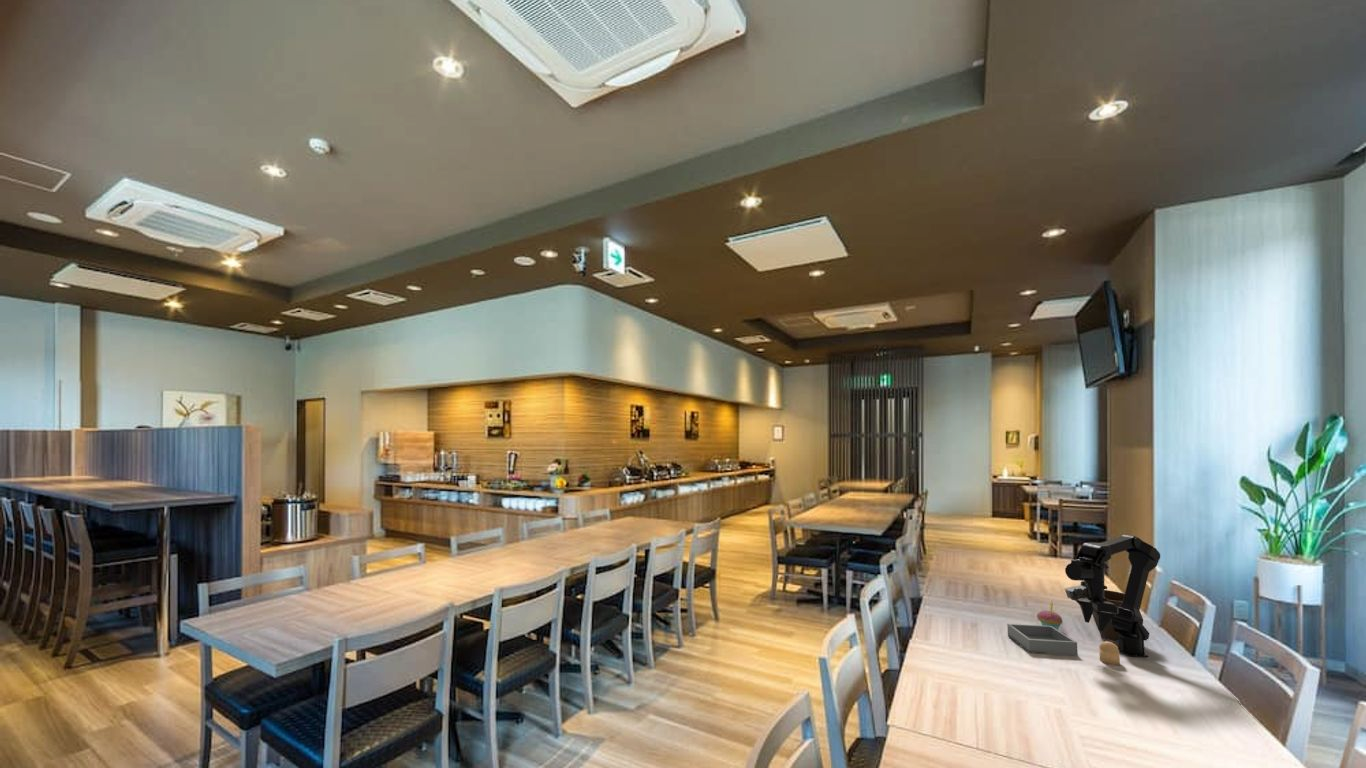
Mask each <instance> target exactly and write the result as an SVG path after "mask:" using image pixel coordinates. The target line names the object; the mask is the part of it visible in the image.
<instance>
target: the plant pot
mask: <svg viewBox="0 0 1366 768" xmlns="http://www.w3.org/2000/svg"><path fill="white" fill-rule="evenodd" d="M1124 595H1125V592H1118V591H1113V590H1109V589H1104V597H1105V598H1107V602H1111V603H1113V604H1115V605H1116V606H1117V607H1119V606H1120V605H1121V604H1122V602H1123V599H1124ZM1092 618H1093V621H1094V624H1095V625H1096V628H1097V630H1098V631H1099V632H1098V633H1099V634H1100V636H1101V637H1103V638H1104V639H1107V640H1111V641H1115V642H1118V638H1119V633H1118V632H1114V629H1113V626H1112V622H1111V620H1110V621H1109V623H1108V624H1107V626H1106V627H1105V629H1104V630H1103V631H1100V630H1099V628H1098V622H1097V614H1096V613H1095V612H1094V611H1093V613H1092Z"/></svg>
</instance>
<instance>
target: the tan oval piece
mask: <svg viewBox="0 0 1366 768" xmlns="http://www.w3.org/2000/svg"><path fill="white" fill-rule="evenodd" d="M1098 647H1099V650H1098V651H1099V661H1100V662H1102V663H1104V664H1105V665H1111V666H1120V665H1121V661H1120V659H1121V658H1120V657H1121V656H1120V651H1119V649H1118V645H1116V644H1115V643H1113V642H1111V641H1106V640H1105V641H1103V642H1101V643H1100V644H1099V646H1098Z"/></svg>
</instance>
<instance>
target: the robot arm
mask: <svg viewBox="0 0 1366 768" xmlns="http://www.w3.org/2000/svg"><path fill="white" fill-rule="evenodd" d="M1122 552H1126V553H1127V555H1128V557H1127V558H1128V561H1129V563H1130V565H1131V568H1130V571H1129V576H1128V580H1127V583H1126V587H1125V590H1124V591H1125V592H1124V594H1125V595H1124V599H1123V602H1122V604H1121V605H1120V606H1119V607H1117V606H1116V605H1115V604H1113V603H1111V602H1107V598H1105V597H1104V590H1108V586H1107V585H1105V579H1106V577H1105V573H1106V572H1105V569H1106V570H1107V569H1109V566H1108V565H1107V564H1106V562H1108V561H1109V560H1111V559H1112V556H1113V555H1116V554H1119V553H1122ZM1160 559H1161V553H1160V551H1158V549H1157V548H1156V547H1154V546H1153V545H1152V544H1149V543H1147V542H1146V541H1143V540H1142V539H1141V538H1140V537H1138V536H1135V535H1129V534H1122V535H1120V536H1118V537H1115V538H1111V539H1109V540H1105V541H1102V542H1084V543H1083V544H1082V545H1081V547H1080V548H1079V550H1078V552H1077V554H1076V555H1075V557H1074V559H1071V561H1070V563H1068V564H1067V565H1066V567H1065V568H1064V570H1065V571H1064V572H1065V575H1066V577H1068V579H1070V580H1071V581H1076V582H1077V581H1080V585H1074V586H1068V587H1065V588H1064V590H1065V594H1066V596H1067V599H1070V600H1072V601H1075V602H1076V604H1078V605H1079V607H1080V610H1081V613H1082V616H1083V619H1084V620H1083V621H1084V623H1086V624H1087V623H1090V621H1091V620H1092V617H1093V615H1092V613H1093V611H1094V612H1095V613H1096V614H1097V622H1098V628H1099V630H1100V631H1103V630H1104V629H1105V627H1106V626H1107V624H1108V623H1109V621H1110V620H1111V622H1112V626H1113V629H1114V632H1118V633H1119V638H1118V641H1117V644H1118V645H1117V647H1118V649H1119V652H1121V653H1123V654H1124V655H1126V656H1129V657H1142V658H1148V657H1149V655H1148V654H1146V653H1145V641H1148V640H1149V638H1150V631H1148V629H1147V628H1146V627H1145V626H1144V625H1143V624H1144V618H1143V616H1142V613H1141V611H1140V609H1141V604H1142V601H1143V598H1144V593H1145V590H1146V585H1147V582H1148V578H1149V573H1150V572H1151V571H1152V570H1154V569H1155V568H1156V567H1157V566H1158V564H1159V561H1160ZM1098 628H1097V629H1098ZM1099 630H1098V631H1099Z"/></svg>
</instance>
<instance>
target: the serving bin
mask: <svg viewBox="0 0 1366 768" xmlns="http://www.w3.org/2000/svg"><path fill="white" fill-rule="evenodd" d="M1006 627H1007V637H1008V638H1010V639H1011V638H1012V639H1011V640H1012V641H1013V642H1015V643H1016V642H1017V644H1018V646H1020V645H1021V646H1022V648H1023V649H1024V650H1025V649H1026V650H1025V651H1027V652H1028V653H1029V654H1043V655H1044V654H1045V655H1057V656H1058V655H1060V656H1061V655H1062V656H1078V655H1079V654H1078V642H1077V641H1076V640H1074V639H1072V638H1071V637H1069V636H1068V635H1067V634H1065V633H1063V632H1062V631H1060V630H1059V629H1058V630H1057V629H1055V628H1054V627H1052V626H1042V624H1040V625H1039V624H1037V625H1036V624H1021V623H1019V624H1017V623H1007V626H1006ZM1021 646H1020V647H1021Z"/></svg>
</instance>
